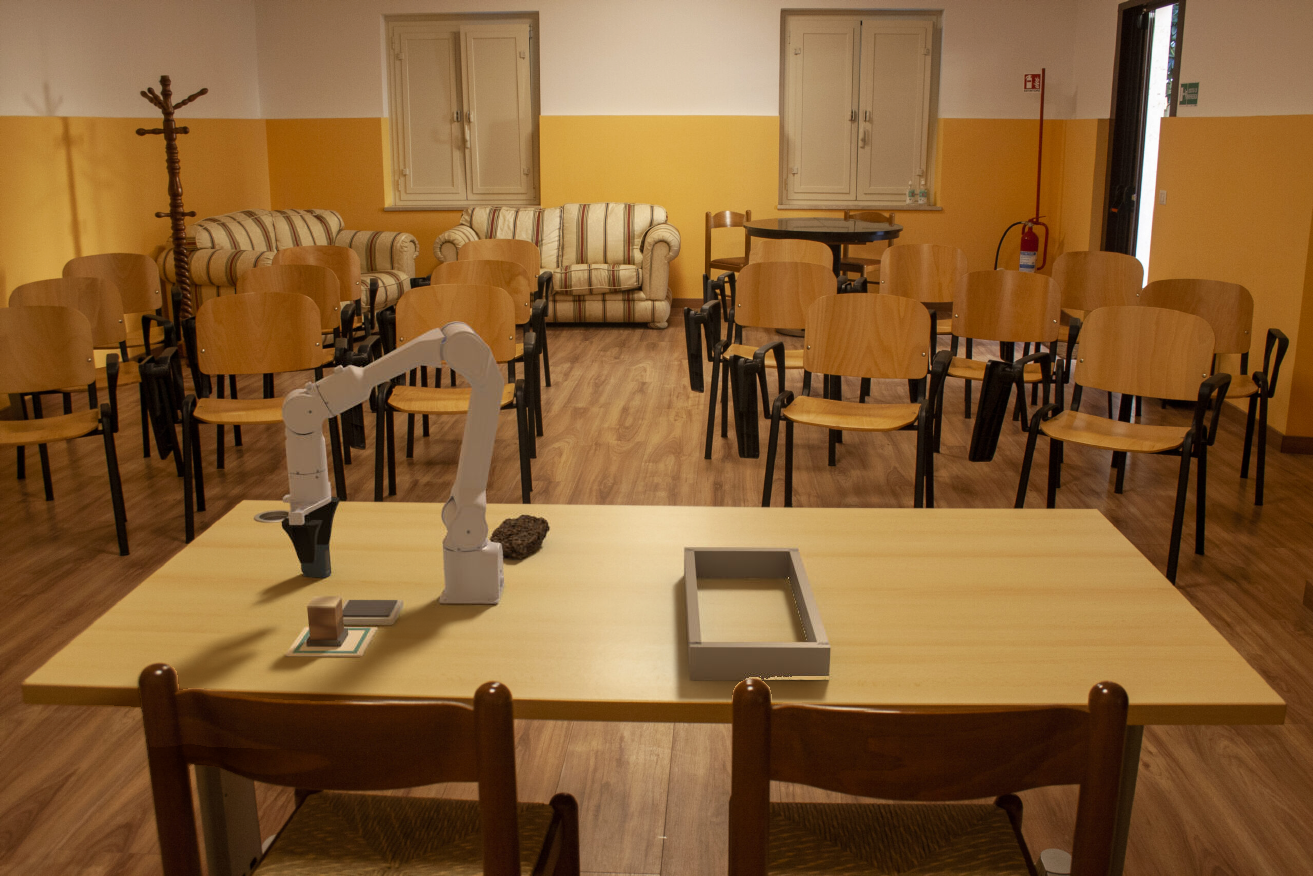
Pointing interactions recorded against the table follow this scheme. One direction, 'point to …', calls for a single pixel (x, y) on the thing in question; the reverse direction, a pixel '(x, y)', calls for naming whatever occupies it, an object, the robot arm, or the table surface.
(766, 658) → the open rectangular frame
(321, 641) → the stamp
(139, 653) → the table surface
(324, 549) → the vaping device
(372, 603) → the ink pad
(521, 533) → the dark brown rock
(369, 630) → the print sheet
